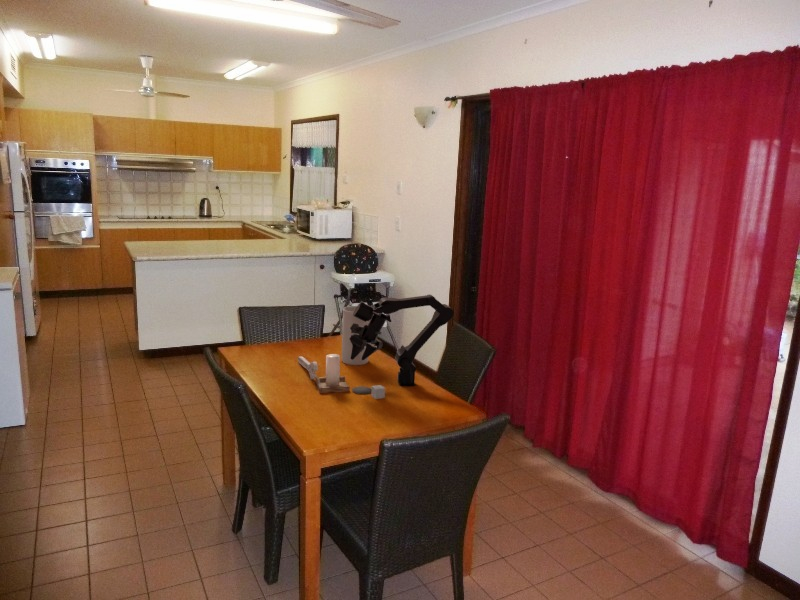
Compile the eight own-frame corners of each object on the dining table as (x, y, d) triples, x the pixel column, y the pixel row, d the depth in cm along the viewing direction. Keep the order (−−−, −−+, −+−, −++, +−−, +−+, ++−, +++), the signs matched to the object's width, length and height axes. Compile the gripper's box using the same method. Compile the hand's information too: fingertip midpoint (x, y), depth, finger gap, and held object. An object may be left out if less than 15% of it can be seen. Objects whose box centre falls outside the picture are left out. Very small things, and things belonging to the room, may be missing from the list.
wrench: (301, 367, 264) (318, 382, 237) (298, 368, 264) (314, 382, 236) (301, 350, 264) (318, 363, 236) (297, 350, 263) (313, 363, 235)
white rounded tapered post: (341, 384, 237) (342, 355, 234) (336, 388, 232) (336, 359, 229) (329, 382, 239) (329, 353, 236) (323, 386, 233) (323, 357, 231)
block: (380, 394, 230) (381, 384, 229) (384, 398, 227) (385, 388, 226) (371, 395, 228) (371, 386, 228) (375, 399, 225) (375, 389, 224)
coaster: (371, 387, 237) (371, 386, 237) (372, 394, 229) (372, 393, 229) (352, 387, 236) (352, 386, 236) (352, 394, 228) (352, 393, 228)
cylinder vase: (373, 363, 267) (375, 310, 262) (349, 367, 260) (351, 313, 255) (359, 355, 277) (361, 305, 272) (336, 359, 270) (338, 307, 265)
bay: (344, 381, 243) (344, 376, 242) (349, 391, 231) (349, 386, 231) (315, 382, 239) (316, 377, 239) (319, 392, 228) (319, 387, 228)
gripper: (370, 318, 247) (353, 350, 249) (348, 314, 230) (330, 348, 232) (390, 331, 242) (373, 363, 244) (369, 328, 226) (351, 362, 227)
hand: (357, 359), depth 237 cm, fingers open, 9 cm apart
